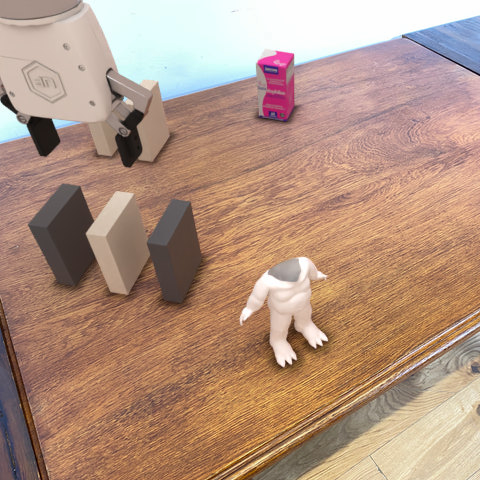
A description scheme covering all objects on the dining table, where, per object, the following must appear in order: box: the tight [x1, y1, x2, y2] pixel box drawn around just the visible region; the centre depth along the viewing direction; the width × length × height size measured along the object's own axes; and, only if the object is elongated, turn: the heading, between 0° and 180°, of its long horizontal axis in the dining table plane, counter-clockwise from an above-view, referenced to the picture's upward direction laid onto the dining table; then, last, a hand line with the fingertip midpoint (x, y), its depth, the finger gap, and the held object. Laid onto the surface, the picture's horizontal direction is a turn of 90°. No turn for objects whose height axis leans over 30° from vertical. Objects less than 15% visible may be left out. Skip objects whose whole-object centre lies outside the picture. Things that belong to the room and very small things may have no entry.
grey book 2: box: [147, 198, 203, 304], centre depth 66 cm, size 2×8×11 cm, turn 170°
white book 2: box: [86, 190, 151, 296], centre depth 67 cm, size 2×8×11 cm, turn 170°
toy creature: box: [239, 256, 329, 368], centre depth 59 cm, size 12×6×12 cm, turn 126°
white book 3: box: [124, 79, 171, 163], centre depth 87 cm, size 2×8×11 cm, turn 170°
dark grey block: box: [27, 182, 96, 287], centre depth 68 cm, size 2×8×11 cm, turn 170°
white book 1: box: [87, 109, 125, 157], centre depth 88 cm, size 2×8×11 cm, turn 170°
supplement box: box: [255, 48, 295, 122], centre depth 96 cm, size 6×6×12 cm
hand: (91, 154), depth 56 cm, fingers open, 9 cm apart
